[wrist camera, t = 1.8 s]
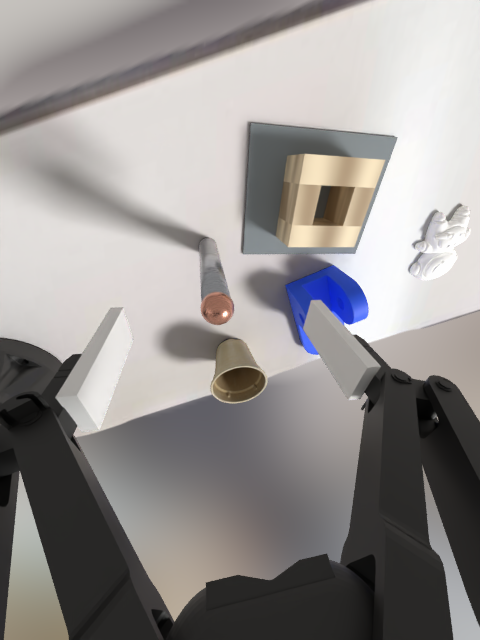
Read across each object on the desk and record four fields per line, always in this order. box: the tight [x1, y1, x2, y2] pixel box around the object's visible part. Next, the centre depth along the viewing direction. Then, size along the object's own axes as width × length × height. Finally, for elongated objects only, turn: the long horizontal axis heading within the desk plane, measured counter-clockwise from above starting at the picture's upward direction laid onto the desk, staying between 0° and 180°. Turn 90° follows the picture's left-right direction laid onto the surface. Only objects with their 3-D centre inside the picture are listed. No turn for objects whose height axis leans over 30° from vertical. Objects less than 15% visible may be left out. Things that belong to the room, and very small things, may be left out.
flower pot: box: [211, 339, 267, 403], centre depth 38 cm, size 9×9×9 cm
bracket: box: [285, 265, 368, 355], centre depth 37 cm, size 18×8×9 cm, turn 21°
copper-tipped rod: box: [199, 238, 234, 325], centre depth 23 cm, size 3×3×17 cm
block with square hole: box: [276, 154, 385, 247], centre depth 26 cm, size 9×9×5 cm
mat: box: [243, 123, 398, 254], centre depth 28 cm, size 18×14×1 cm
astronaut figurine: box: [410, 206, 471, 280], centre depth 35 cm, size 9×12×3 cm
